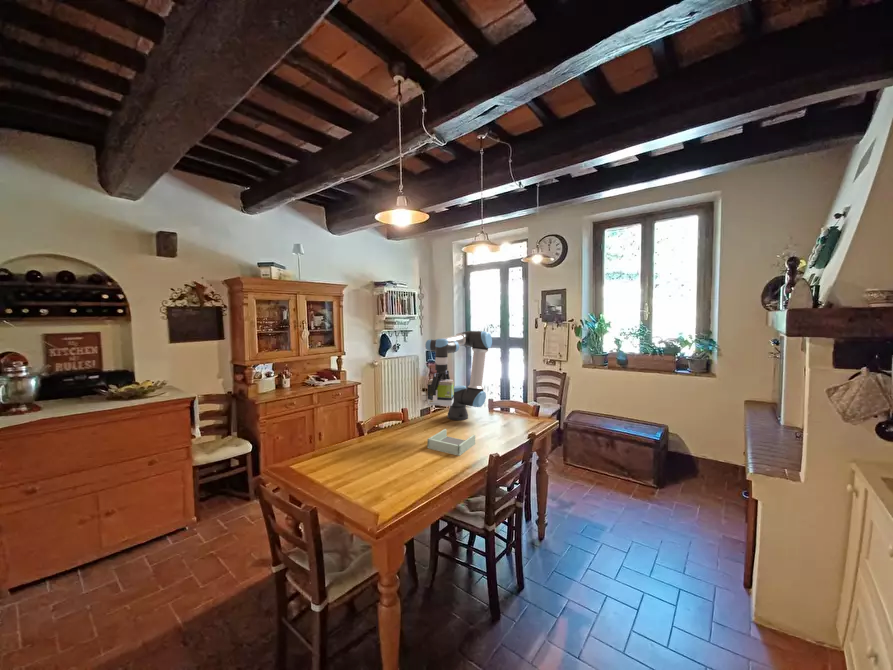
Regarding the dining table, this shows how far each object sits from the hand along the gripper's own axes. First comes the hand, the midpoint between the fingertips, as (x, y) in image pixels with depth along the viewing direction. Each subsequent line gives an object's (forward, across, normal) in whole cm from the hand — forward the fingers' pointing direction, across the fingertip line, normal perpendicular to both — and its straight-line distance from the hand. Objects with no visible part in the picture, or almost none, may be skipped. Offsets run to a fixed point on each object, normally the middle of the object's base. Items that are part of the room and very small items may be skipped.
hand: (440, 398), depth 226 cm
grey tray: (+25, +7, +13) cm, 29 cm away
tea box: (+4, 0, 0) cm, 4 cm away
